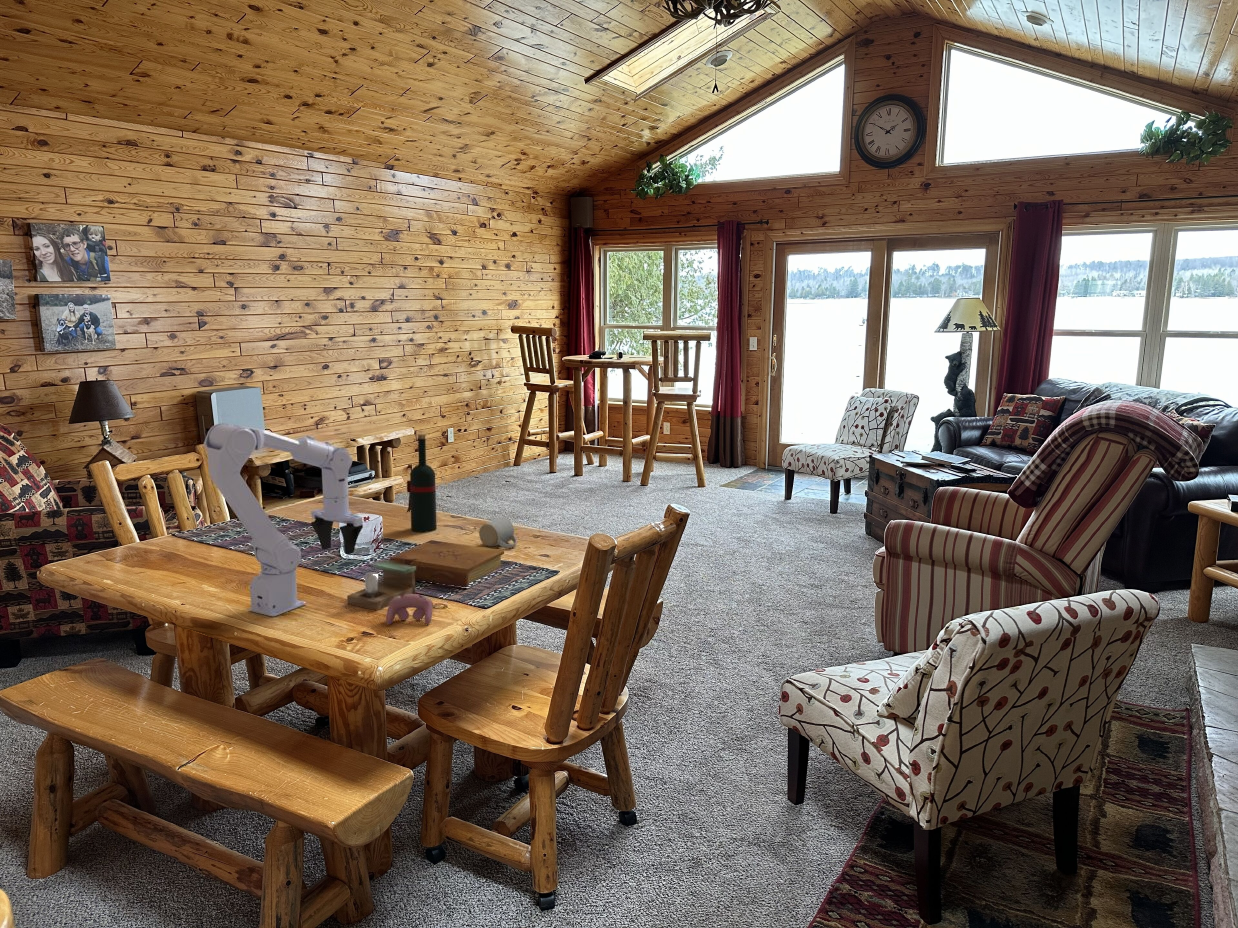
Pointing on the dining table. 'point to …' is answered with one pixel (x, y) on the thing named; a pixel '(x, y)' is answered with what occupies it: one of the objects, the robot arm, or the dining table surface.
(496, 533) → the ceramic mug
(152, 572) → the dining table surface
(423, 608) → the video game controller
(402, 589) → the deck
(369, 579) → the peg
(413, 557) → the diary
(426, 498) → the wine bottle
